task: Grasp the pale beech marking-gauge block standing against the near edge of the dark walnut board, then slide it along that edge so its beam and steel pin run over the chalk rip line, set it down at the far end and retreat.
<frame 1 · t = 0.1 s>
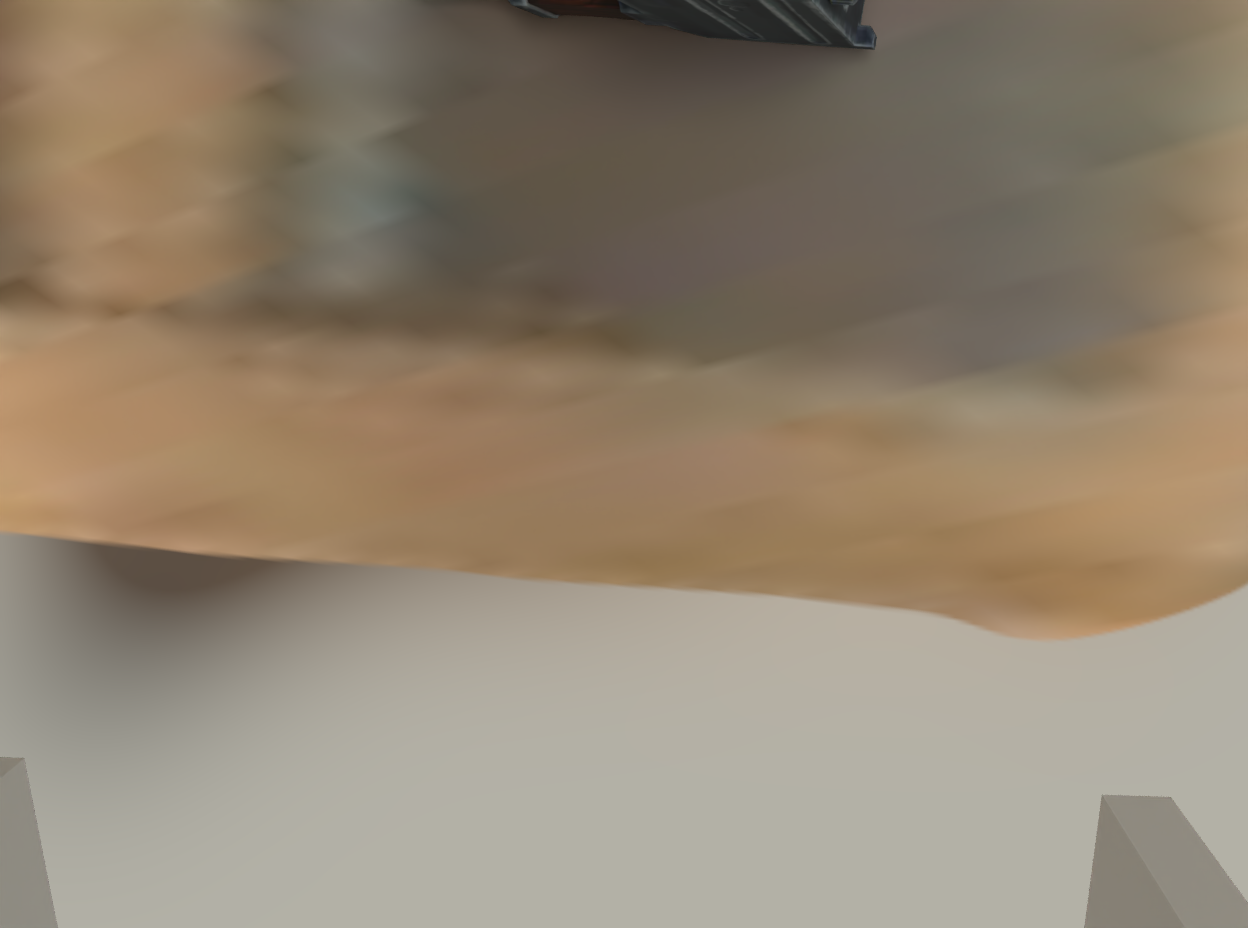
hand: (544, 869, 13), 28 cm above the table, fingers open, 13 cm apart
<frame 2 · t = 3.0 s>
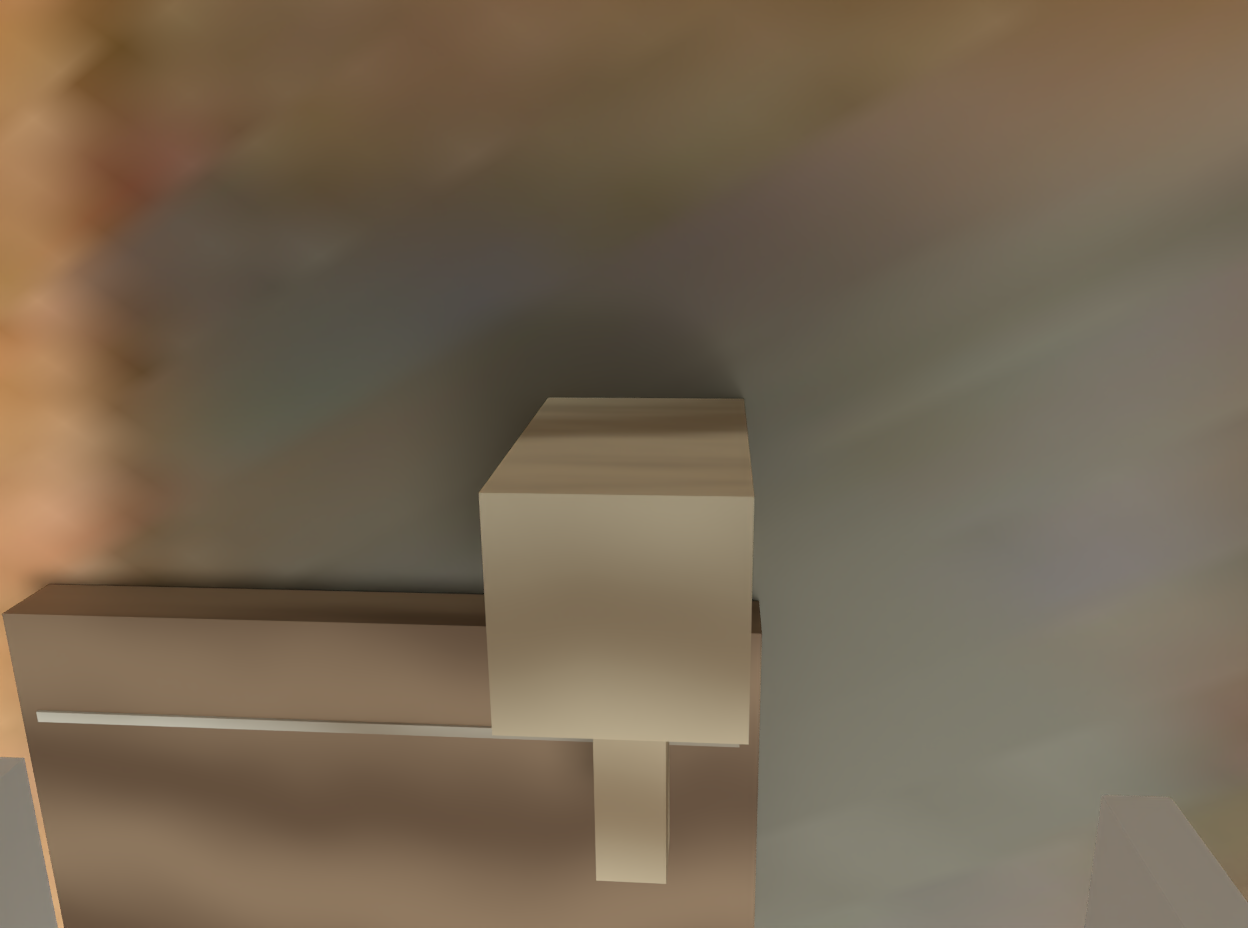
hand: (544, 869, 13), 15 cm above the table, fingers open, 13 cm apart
board: (406, 752, 30), on the table
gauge: (645, 491, 27), on the table
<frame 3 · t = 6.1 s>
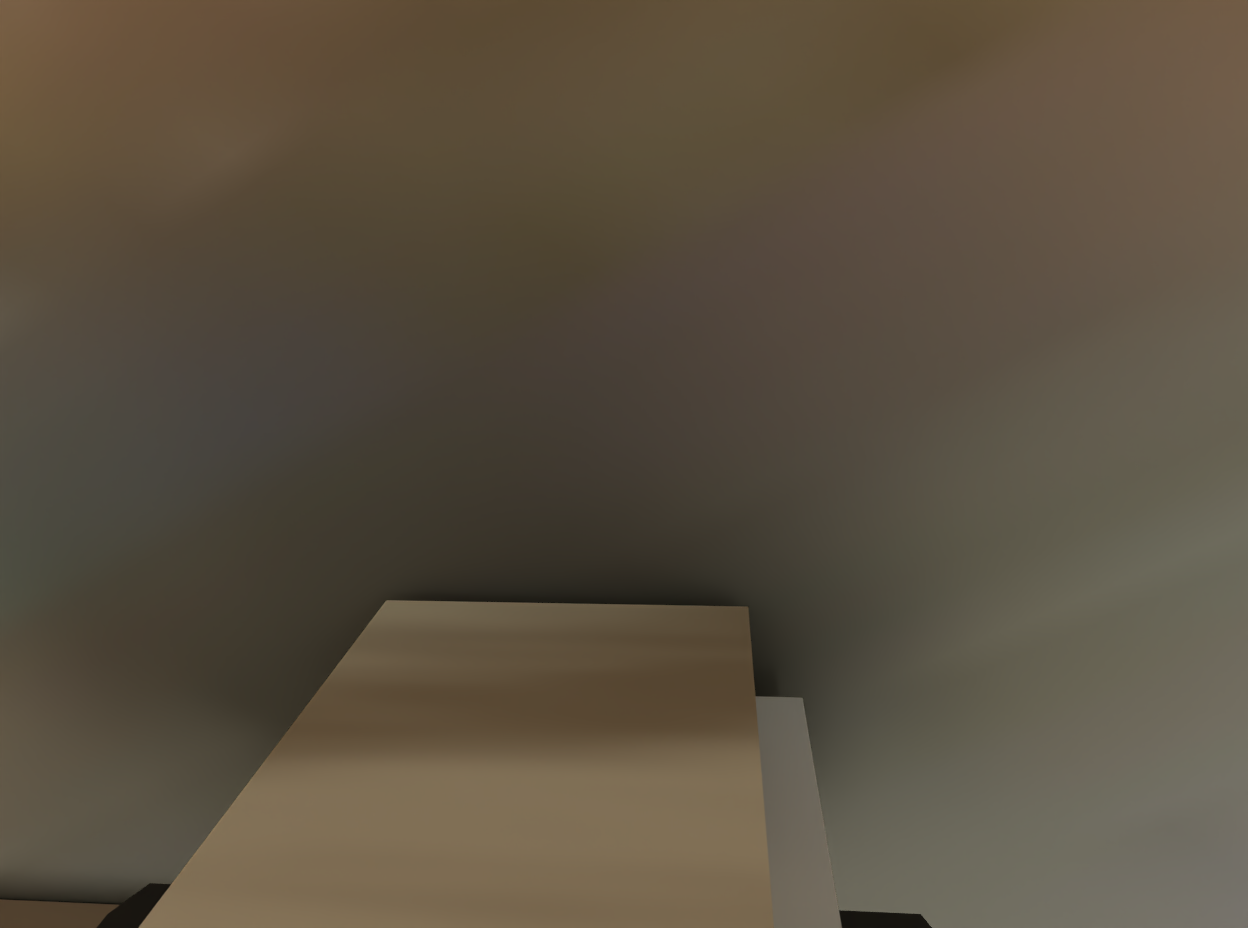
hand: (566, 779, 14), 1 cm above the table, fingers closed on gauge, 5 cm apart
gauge: (570, 764, 15), on the table, touching gripper
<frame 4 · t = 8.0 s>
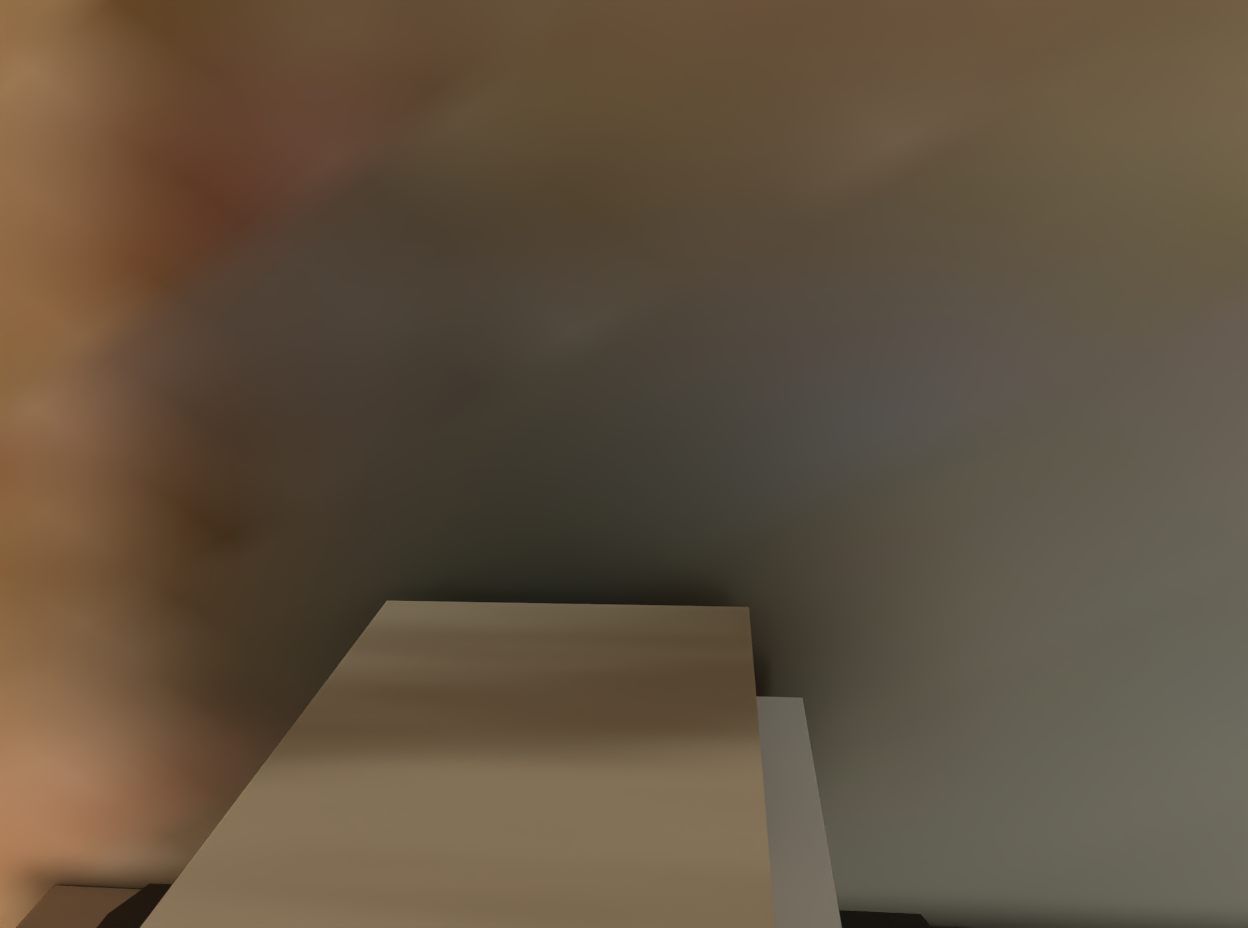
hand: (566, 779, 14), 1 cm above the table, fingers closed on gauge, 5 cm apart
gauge: (570, 764, 15), point 1 cm above the table, touching gripper
when the fingers open (0 cm above the table, at t = 9.7 s): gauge stays where it is, on the table.
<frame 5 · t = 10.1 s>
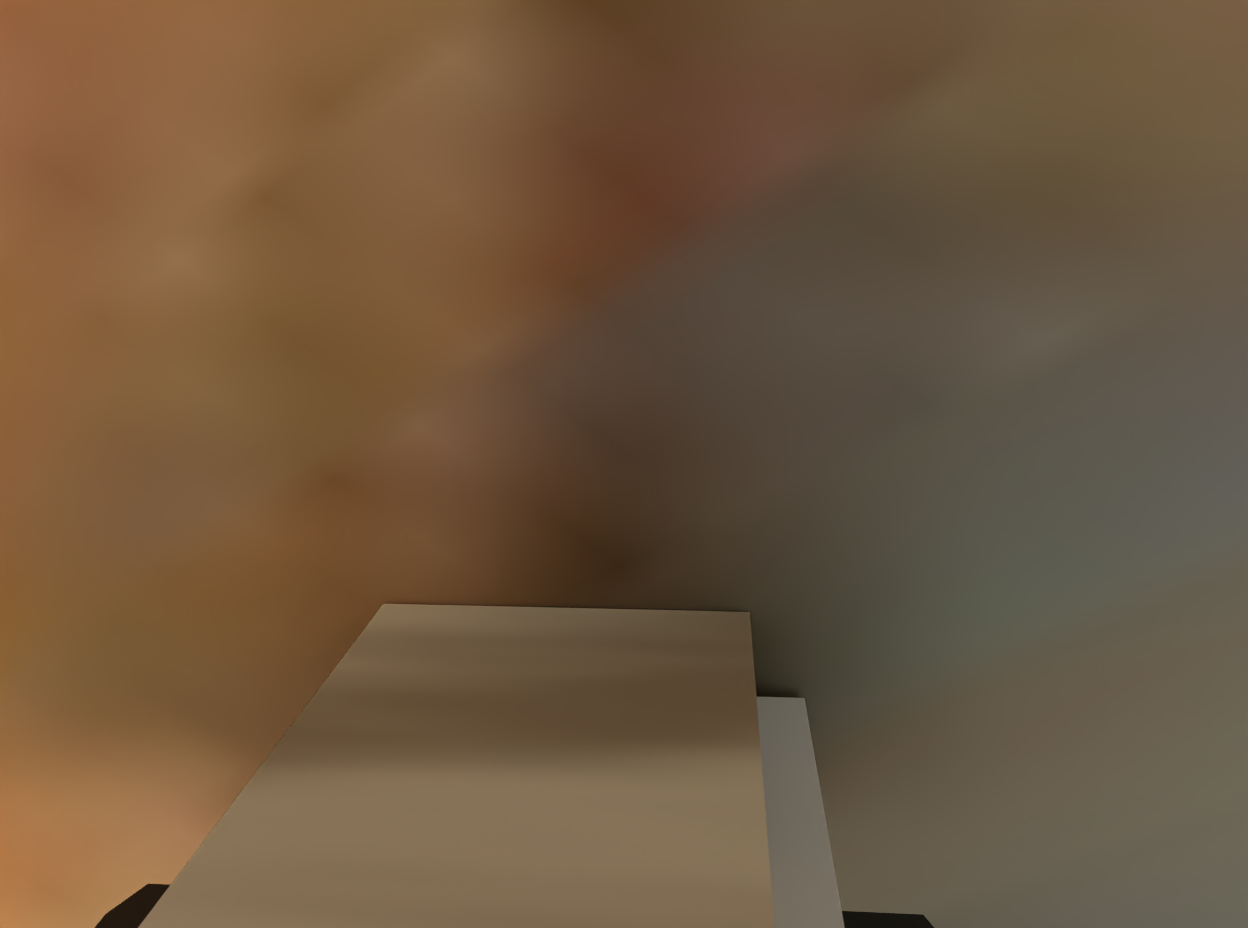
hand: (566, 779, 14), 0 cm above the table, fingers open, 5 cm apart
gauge: (569, 770, 15), on the table, touching gripper
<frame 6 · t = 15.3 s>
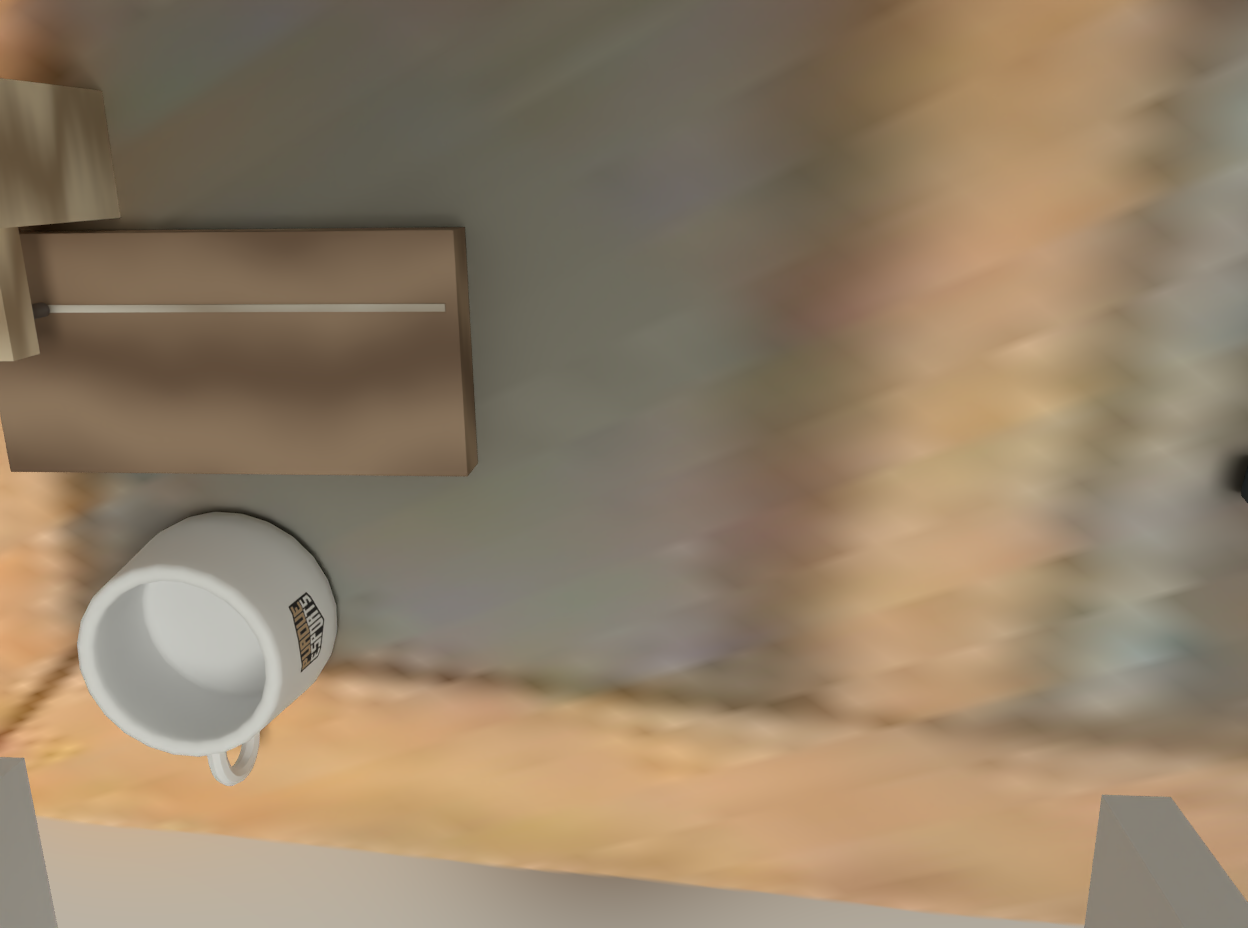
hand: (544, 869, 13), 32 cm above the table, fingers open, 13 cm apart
board: (241, 348, 44), on the table
mug: (248, 626, 48), on the table
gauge: (53, 156, 43), on the table
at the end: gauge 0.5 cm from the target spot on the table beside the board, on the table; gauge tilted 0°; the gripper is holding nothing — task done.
